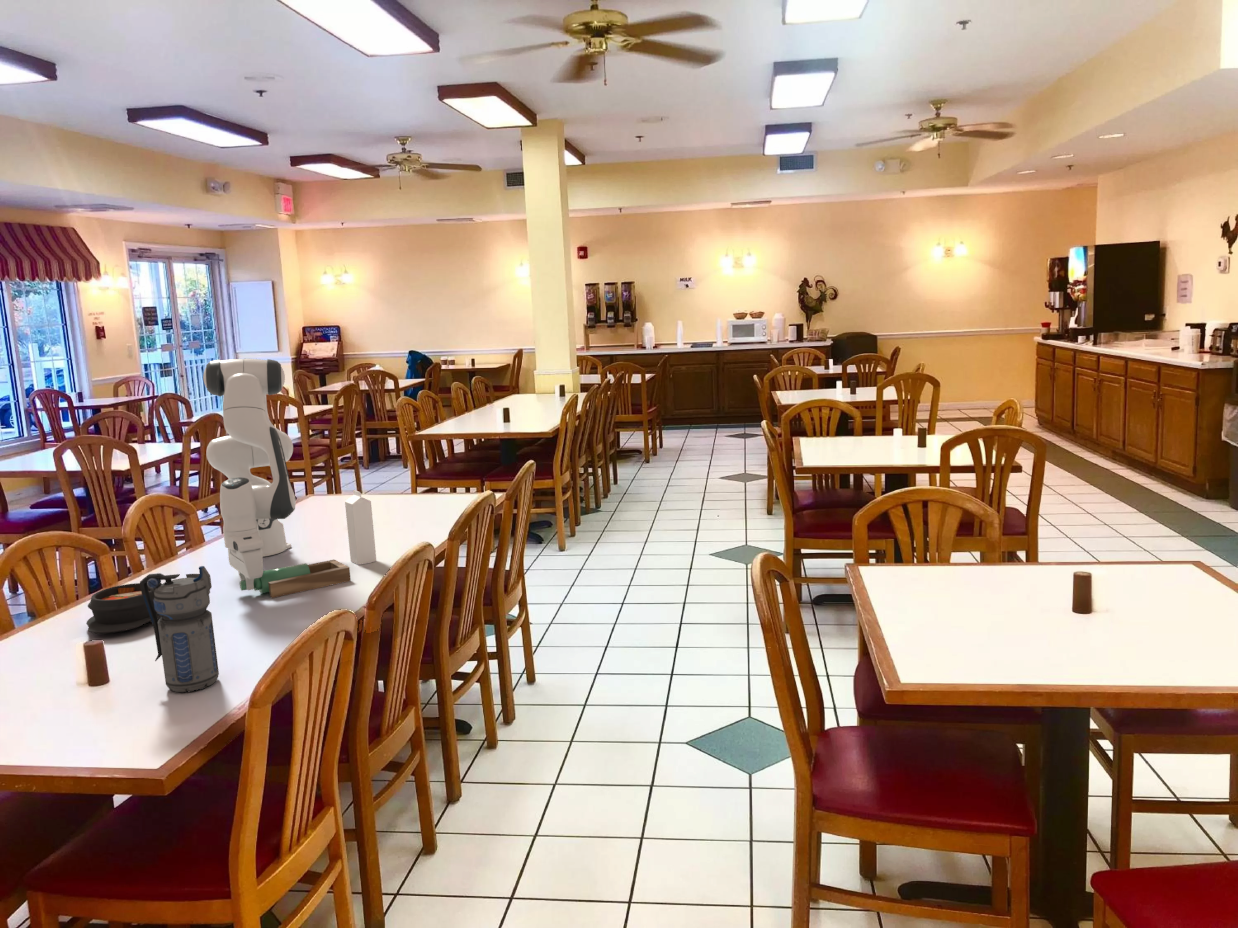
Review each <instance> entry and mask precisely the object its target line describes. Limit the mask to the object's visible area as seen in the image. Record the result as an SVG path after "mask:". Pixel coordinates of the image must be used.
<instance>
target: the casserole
mask: <svg viewBox="0 0 1238 928" xmlns="http://www.w3.org/2000/svg"><path fill="white" fill-rule="evenodd" d="M148 591H149V595H150V598H151V601H152V604H153V607H154V593H153V592H152V591H151V590H150V589H149V588H148ZM87 607H88V609H90V611H91V612H92V616H91V617H90V618H89V619H88V620H86V625H87V627H88V628H87V631H88V632H89V633H92V634H108V633H109V634H111V633H119V632H125V631H130V630H135V629H137V628H139V627H142V626H143V624H144V625H146V624H148V623H152V622H151V619H150V616H149V613H148V610H147V607H146V604H145V602H144V599H143V596H142V593H141V586H140V582H136V583H126V584H122V585H121V584H120V585H115V586H112V587H107V588H105V589H102V590H98V591H97V592H96V593H94V594H92V596H91V598H90V601H89V603H88V604H87ZM154 610H155V608H154ZM155 613H156V616H157V619H160V618H161V616H160V615H159V614H158V613H157V612H156V610H155Z"/></svg>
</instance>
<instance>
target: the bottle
mask: <svg viewBox="0 0 1238 928" xmlns="http://www.w3.org/2000/svg"><path fill="white" fill-rule="evenodd" d="M308 565H309V564H307V563H298V564H295V565H289V566H283V567H278V568H271V569H265V570H263V575H262V577H260V578H255V579H254V583H253V584H254V589H253V590H254V591H255V592H256V591H259V593H260V594H264V593H265V594H266V593H269V584H268V582H272V581H277V580H282V579H287V578H292V577H296V576H301V575H306V574H310V569H309V567H308ZM245 583H246V580H244V581H241V580H240V581H239V589H240V591H248V590H247V589H246V586H245Z"/></svg>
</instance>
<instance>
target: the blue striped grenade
mask: <svg viewBox="0 0 1238 928" xmlns="http://www.w3.org/2000/svg"><path fill="white" fill-rule="evenodd" d="M198 570H199V573H186V574H185V577H182V578H179V576H180V573H177V574H167V575H164V574H163V573H161V572H160V573H159V572H158V573H148V574H147V575H146V576H145V577H143V578H142V580H140V581H139V583H140V586H141V593H142V596H143V599H144V602H145V604H146V607H147V610H148V613H149V616H150V619H151V622H150V623H151V624H152V627H153V630H154V637H155V644H156V650H157V656H156V658H155V660H154V662H157V661H158V660H159V659H160V657H161V659H162V666H163V674H164V680H165V685H166V686H167V688H168V689H169V691H172V692H177V693H178V692H179V693H187V692H186V691H191V692H195V691H194V690H196V691H199V690H198V689H200V690H203V689H205V688H207V686H208V687H210V686H211V685H213V684H214V683H216V682H217V680H218V677H219V675H220V672H219V671H220V670H219V664H218V657H217V647H216V641H215V640H216V639H215V632H214V631H215V630H214V625H213V624H214V622H213V615H212V612H211V611H209V610H208V607H209V606H210V605H211V604H210V603H211V599H210V598H211V597H210V594H211V589H212V578H211V574H210V573H209V571H208V570H207V569H206V567H205V566H204V565H201V566H199V567H198ZM162 581H164V582H163V583H162ZM148 588H149V589H150V590H151V591H152V592H153V593H154V607H153V604H152V601H151V598H150V595H149V591H148ZM154 608H155V610H156V612H157V613H158V614H159V615H160V616H161V617H159V618H157V616H156V613H155V610H154ZM202 688H203V689H202Z"/></svg>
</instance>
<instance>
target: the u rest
mask: <svg viewBox="0 0 1238 928" xmlns="http://www.w3.org/2000/svg"><path fill="white" fill-rule="evenodd" d="M307 565H308V567H309V569H310V574H306V575H301V576H296V577H292V578H287V579H282V580H277V581H272V582H268V584H269V592H268V593H269V597H270V598H271V599H274V598H278V597H279V598H280V597H283V596H288V595H292V594H298V593H302V592H306V591H310V590H315V589H320V588H325V587H329V585H330V586H333V585H332V584H334V585H337V584H338V583H339V584H343V583H342V582H344V583H346V582H347V583H348V582H351V580H352V579H351V569H350V568H351V567H350V566H348V565H345V564H344V563H342V562H341V561H338V560H337V559H330V560H325V561H320V562H315V563H311V564H310V563H309V564H307ZM324 586H325V587H324Z"/></svg>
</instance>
